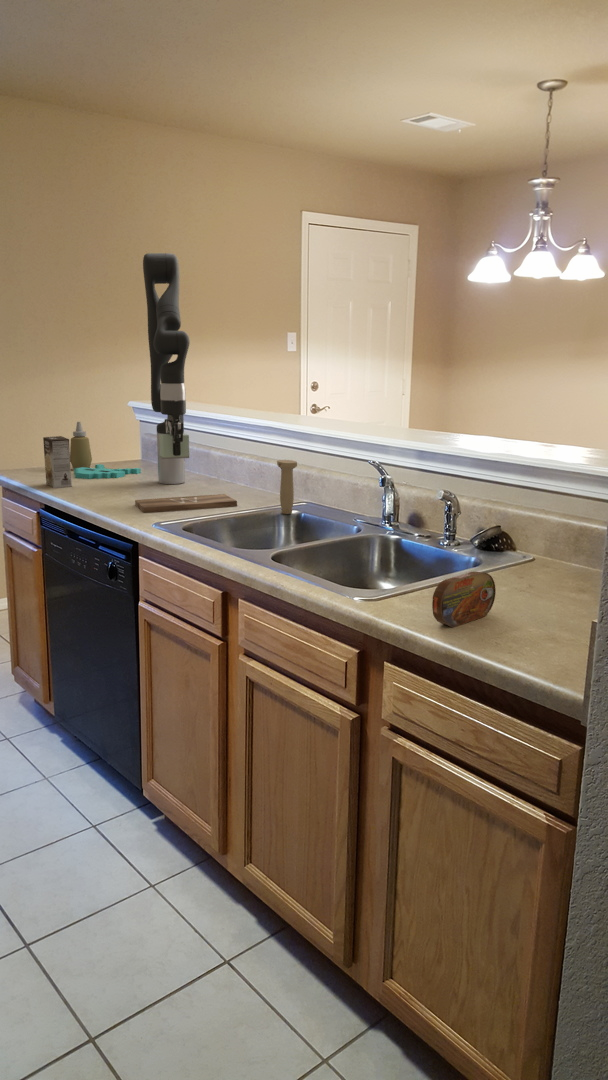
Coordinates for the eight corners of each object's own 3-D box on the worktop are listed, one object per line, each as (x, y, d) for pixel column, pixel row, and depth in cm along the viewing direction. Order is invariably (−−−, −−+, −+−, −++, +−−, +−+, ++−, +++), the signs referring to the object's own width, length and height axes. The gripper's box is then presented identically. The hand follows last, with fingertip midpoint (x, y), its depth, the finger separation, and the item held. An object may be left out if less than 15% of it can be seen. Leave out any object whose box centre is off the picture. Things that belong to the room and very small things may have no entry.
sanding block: (159, 457, 249) (159, 434, 247) (185, 455, 252) (184, 433, 250) (163, 459, 244) (163, 436, 243) (189, 458, 248) (188, 435, 246)
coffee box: (45, 484, 273) (42, 436, 270) (64, 482, 277) (61, 435, 273) (53, 488, 266) (50, 439, 262) (72, 486, 270) (70, 438, 266)
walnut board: (135, 504, 241) (134, 499, 240) (224, 498, 251) (224, 493, 251) (143, 512, 230) (143, 507, 230) (237, 505, 241) (236, 500, 240)
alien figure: (99, 469, 307) (61, 477, 290) (99, 464, 307) (60, 471, 290) (140, 474, 298) (104, 482, 281) (140, 468, 298) (103, 475, 281)
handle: (285, 516, 227) (285, 463, 224) (273, 512, 232) (273, 460, 229) (299, 514, 230) (300, 462, 226) (287, 510, 235) (288, 459, 231)
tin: (441, 631, 138) (444, 584, 136) (427, 626, 140) (429, 580, 138) (495, 614, 147) (498, 569, 145) (481, 609, 150) (484, 566, 148)
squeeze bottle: (66, 470, 301) (63, 422, 297) (76, 467, 309) (73, 420, 305) (87, 471, 300) (84, 423, 296) (95, 468, 308) (93, 421, 304)
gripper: (155, 397, 249) (157, 451, 253) (166, 400, 236) (168, 457, 240) (179, 396, 252) (180, 451, 256) (191, 399, 239) (192, 456, 243)
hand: (174, 454), depth 248 cm, fingers closed on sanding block, 5 cm apart
